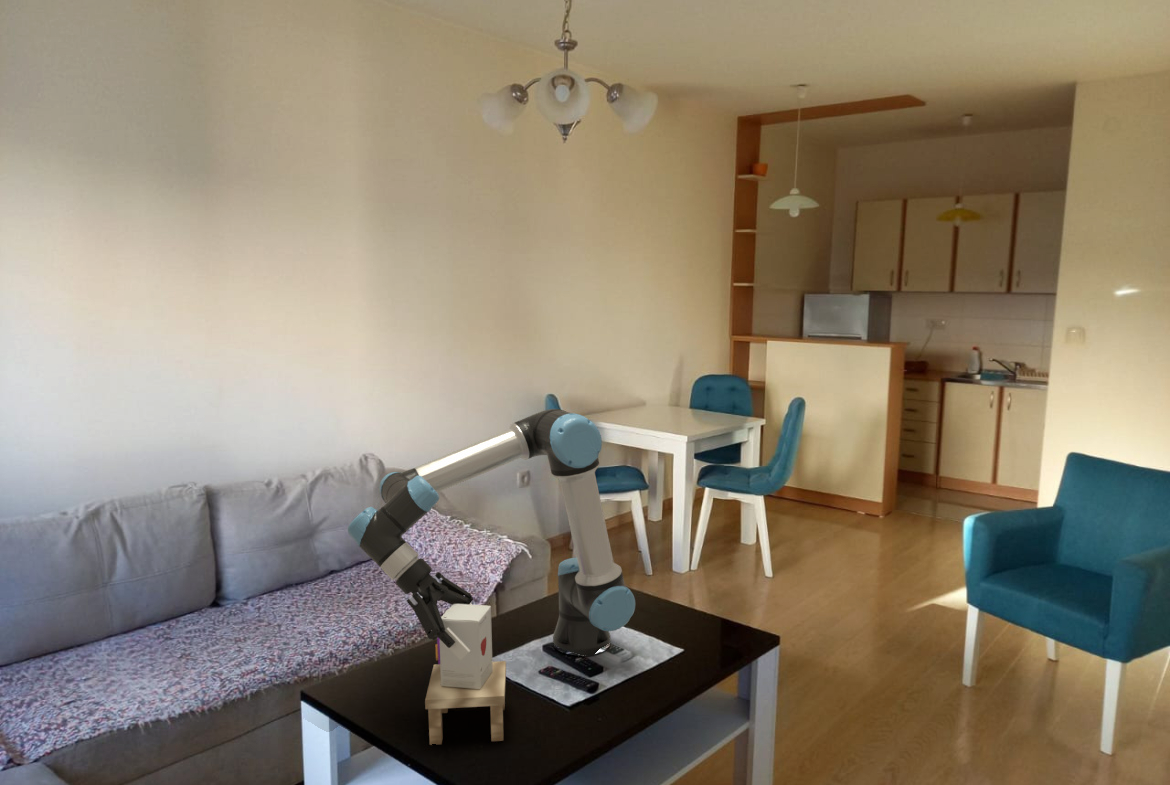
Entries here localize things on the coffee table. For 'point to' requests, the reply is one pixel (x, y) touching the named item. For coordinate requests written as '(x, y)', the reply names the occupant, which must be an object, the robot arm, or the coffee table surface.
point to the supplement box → (477, 637)
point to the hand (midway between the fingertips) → (476, 641)
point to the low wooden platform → (466, 700)
